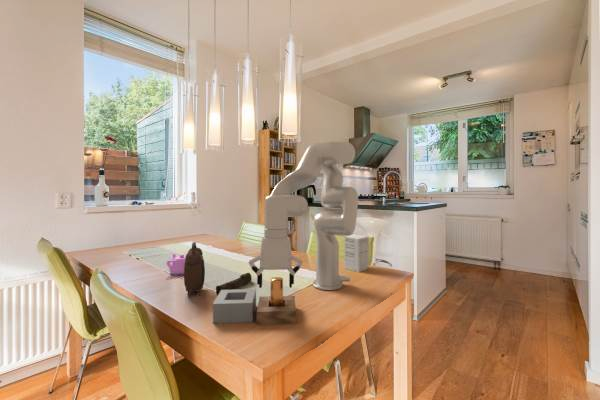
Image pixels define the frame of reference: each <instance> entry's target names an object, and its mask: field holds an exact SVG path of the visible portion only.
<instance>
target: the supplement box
mask: <svg viewBox="0 0 600 400" xmlns="http://www.w3.org/2000/svg"><path fill="white" fill-rule="evenodd" d="M343 243H344V247H343V250H344V251H343V252H344V255H343V256H344V257H343V263H344V264H343V265H344V268H343V269H345V270H347V271H348V270H349V271H353V272H356V273H360V272H363V271H366V270H369V268H370V236H367V235H361V234H352V235H350V236H344V237H343Z"/></svg>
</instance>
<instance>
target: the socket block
mask: <svg viewBox="0 0 600 400" xmlns="http://www.w3.org/2000/svg"><path fill="white" fill-rule="evenodd" d="M256 307H257V289H256V288H243V289H238V288H235V289H233V290H221V291H220V293H219V295H218V294H217V296H216V297H215V300H214V301H213V303H212V323H213V324H222V323H223V324H225V323H230V324H231V323H253V321H254V316H255V313H256V309H257V308H256Z"/></svg>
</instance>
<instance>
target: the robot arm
mask: <svg viewBox="0 0 600 400" xmlns="http://www.w3.org/2000/svg"><path fill="white" fill-rule="evenodd" d="M355 158H356V150H355V147H354V145H353V144H352V143H351V142H344V141H325V142H316V143H313V144H310V145H309V146H308V147H307V148H306V150H305V152H304V154H303V156H302V157H301V160H300V161H299V163H298V165H297V166H296V168H295V170H294V171H292V172H290V173H289V174H287V175H286V176H285V177H284V178H283V179H281V180H280V181H279V182H278V183H277V184H276V185H275V186H274V189H273V190H272V191H271V194H270V195H268V196H266V197H265V199H264V231H263V232H264V234H263V235H264V236H263V237H261V244H260V253H259V255H258V256H255V257H254V258H252V259H249V261H248V265H249V266H250V268H251V270H252V271H253V272H254V273H255V274H256V276H257V277H256V283H257V285H258V287H259V289H261V288H263V287H262V286H263V271H264V270H266V271H267V270H268V271H271V270H272V271H274V270H275V271H276V270H283V271H284V270H287V271H288V272H289V273H288V275H289V278H288V281H289V282H288V283H289V284H288V285H289V288H290V289H291V288H293V285H295V274H296V273H297V272H298V271H299V270H300V269H301V266H302V265H303V262H304V261H303V260H302V259H301V258H299V257H297V256H295V255H293V254H292V243H291V238H290V235H293V230H291V229H289V218H300V217H303V216H304V215H305V214H306V213H307V211H308V208H309V205H308V204H309V203H308V201H307V199H306V198H305V197H304V196H302V195H299V194H293V193H295V192H296V191H298V190H301V189H303V188H306V187H309V186H311V185H313V184H314V183H315V182H316V181H317V180H318V178H319V175H320V173H322V184H321V185H322V186H321V196H320V204H321V206H322V207H323V208H325V209H329V210H330V209H331V210H342V211H341V212H340V211H325V210H324V211H320V212H318V213H317V214H316V215H315V216H314V218H313V225H314V231H315V241H316V242H315V243H316V245H315V247H316V248H315V249H316V252H315V253H316V254H315V255H316V257H315V259H316V264H315V265H316V269H315V270H316V275H315V276H316V277H315V278H316V279H314V281H312V287H314V288H315V289H318V290H321V291H322V290H323V291H335V290H340V289H341V288H342V287H343V282H350V281H351V277H350V276H346V275H340V265H339V264H340V262H339V261H340V257H339V256H340V245H339V241H338V239H337V237H336V236H344V237H345V236H350V235H354V232H355V230H356V225H357V223H356V222H357V217H358V216H357V215H358V206H359V195H358V192H357V190H356V188H354V187H352V186H343V181H344V175H343V173H342V171H341V170H340V168H339V167H338V166H337V165H348V164H351V163H352V162H354V159H355ZM321 171H322V172H321ZM257 262H259V268H258V267H257V266H256V265H255V263H257ZM293 262H295V263H297V264H296V266H294V267H292V263H293Z"/></svg>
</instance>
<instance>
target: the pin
mask: <svg viewBox="0 0 600 400" xmlns="http://www.w3.org/2000/svg"><path fill="white" fill-rule="evenodd" d="M270 296H271V307H282V306H283V296H284V278H283V277H279V276H278V277H277V276H275V277H271V278H270Z"/></svg>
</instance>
